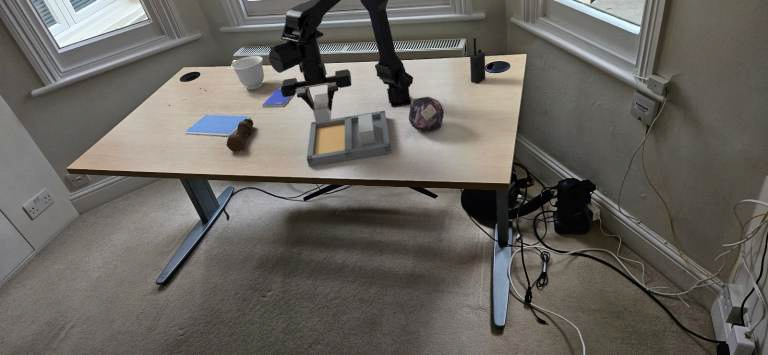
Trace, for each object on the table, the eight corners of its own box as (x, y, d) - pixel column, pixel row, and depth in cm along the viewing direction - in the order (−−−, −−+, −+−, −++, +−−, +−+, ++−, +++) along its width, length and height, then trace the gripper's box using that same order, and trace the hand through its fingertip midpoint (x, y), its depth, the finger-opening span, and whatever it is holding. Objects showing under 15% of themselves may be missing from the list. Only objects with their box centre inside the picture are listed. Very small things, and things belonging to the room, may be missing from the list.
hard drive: (282, 103, 162) (296, 88, 172) (261, 104, 165) (276, 88, 174) (284, 107, 163) (297, 92, 173) (263, 108, 165) (277, 92, 175)
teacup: (251, 77, 190) (243, 53, 184) (276, 82, 182) (269, 57, 176) (228, 89, 183) (219, 65, 177) (253, 95, 175) (244, 70, 169)
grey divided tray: (385, 117, 145) (383, 103, 143) (391, 153, 128) (388, 137, 125) (313, 129, 146) (309, 115, 143) (308, 166, 129) (304, 151, 126)
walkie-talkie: (478, 77, 160) (477, 33, 151) (486, 79, 157) (485, 35, 149) (469, 82, 157) (467, 38, 149) (477, 84, 155) (476, 40, 146)
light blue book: (184, 135, 157) (182, 132, 156) (206, 116, 166) (205, 113, 166) (231, 138, 150) (229, 134, 150) (252, 119, 160) (251, 115, 159)
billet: (331, 105, 136) (328, 92, 134) (330, 121, 128) (327, 108, 125) (318, 107, 136) (314, 94, 134) (316, 123, 128) (312, 110, 126)
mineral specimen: (403, 133, 132) (403, 97, 130) (415, 129, 142) (415, 95, 140) (437, 134, 129) (437, 98, 126) (447, 130, 138) (447, 95, 136)
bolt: (254, 131, 155) (241, 155, 142) (239, 126, 154) (224, 149, 141) (258, 117, 152) (245, 139, 139) (243, 111, 151) (228, 134, 138)
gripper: (345, 41, 129) (355, 93, 138) (278, 52, 129) (293, 103, 138) (345, 56, 119) (356, 110, 128) (273, 68, 120) (289, 121, 129)
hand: (323, 111), depth 131 cm, fingers closed on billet, 4 cm apart
